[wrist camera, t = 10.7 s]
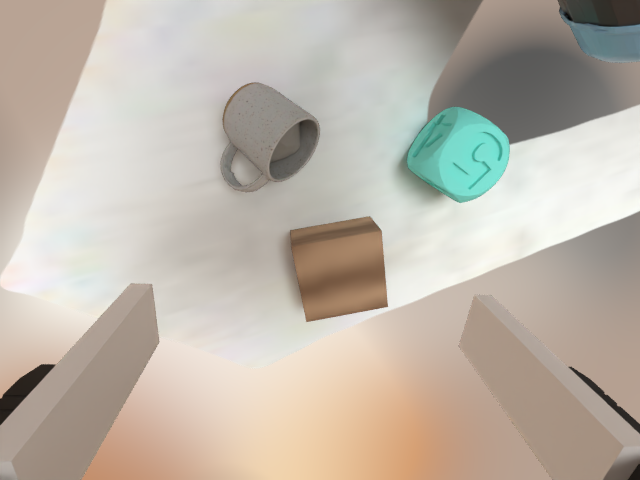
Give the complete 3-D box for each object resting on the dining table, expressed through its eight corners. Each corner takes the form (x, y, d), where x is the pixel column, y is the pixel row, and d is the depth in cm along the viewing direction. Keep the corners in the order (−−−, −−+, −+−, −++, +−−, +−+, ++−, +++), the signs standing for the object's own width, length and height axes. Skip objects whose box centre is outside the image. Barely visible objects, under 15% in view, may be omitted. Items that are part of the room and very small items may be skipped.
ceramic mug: (274, 110, 39) (258, 58, 32) (323, 149, 37) (319, 103, 30) (210, 169, 37) (178, 128, 30) (258, 212, 35) (237, 181, 28)
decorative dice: (398, 162, 41) (422, 172, 34) (437, 106, 39) (473, 104, 32) (442, 194, 43) (474, 210, 36) (482, 143, 41) (525, 149, 34)
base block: (290, 229, 43) (291, 246, 38) (369, 215, 44) (381, 230, 38) (304, 297, 48) (306, 321, 42) (376, 284, 48) (387, 306, 42)
